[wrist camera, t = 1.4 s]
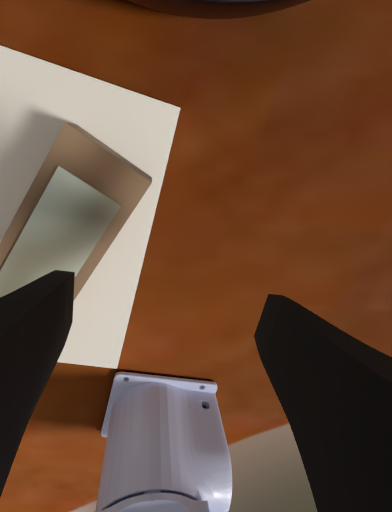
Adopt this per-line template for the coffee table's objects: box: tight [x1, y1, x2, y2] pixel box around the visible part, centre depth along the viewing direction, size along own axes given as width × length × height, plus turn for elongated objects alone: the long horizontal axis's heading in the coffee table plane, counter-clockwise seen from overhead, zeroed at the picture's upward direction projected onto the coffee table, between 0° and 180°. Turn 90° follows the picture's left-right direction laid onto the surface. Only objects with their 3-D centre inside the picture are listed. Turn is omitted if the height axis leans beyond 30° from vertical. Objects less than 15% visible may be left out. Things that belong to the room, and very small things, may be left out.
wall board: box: [0, 46, 180, 369], centre depth 18 cm, size 16×20×1 cm
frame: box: [0, 122, 152, 301], centre depth 17 cm, size 5×15×3 cm, turn 144°
